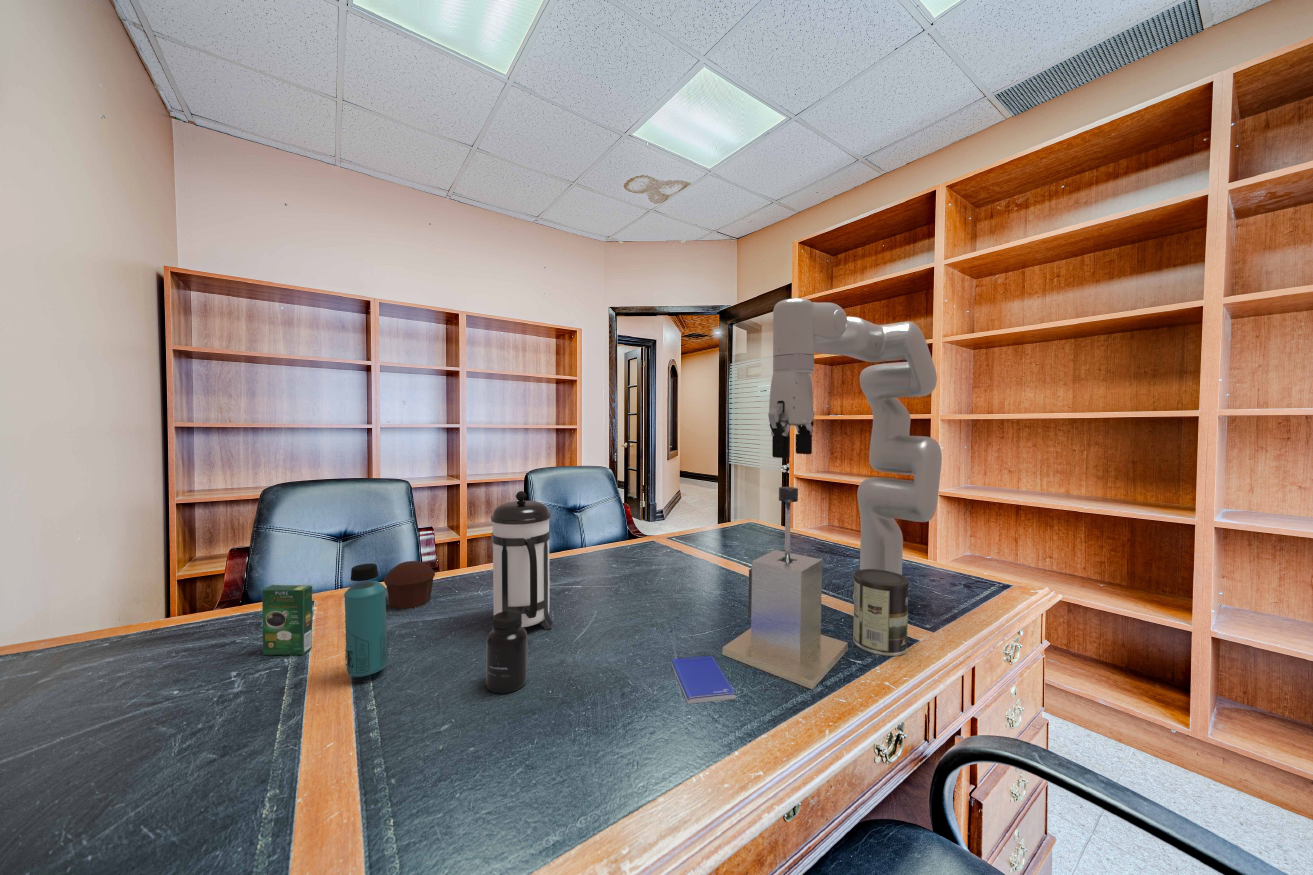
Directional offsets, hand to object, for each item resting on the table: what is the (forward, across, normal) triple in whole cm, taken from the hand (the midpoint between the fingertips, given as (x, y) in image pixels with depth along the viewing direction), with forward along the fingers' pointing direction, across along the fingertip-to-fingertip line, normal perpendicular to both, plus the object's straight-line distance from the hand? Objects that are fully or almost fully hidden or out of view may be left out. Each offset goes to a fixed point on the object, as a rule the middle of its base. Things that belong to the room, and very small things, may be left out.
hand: (792, 455), depth 90 cm
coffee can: (+40, -16, +12) cm, 44 cm away
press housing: (+39, 0, -1) cm, 39 cm away
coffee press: (+39, +28, -49) cm, 69 cm away
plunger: (+23, 0, -1) cm, 23 cm away
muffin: (+38, +40, -82) cm, 99 cm away
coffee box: (+38, +66, -74) cm, 106 cm away
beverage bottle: (+38, +59, -53) cm, 88 cm away
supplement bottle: (+38, +43, -32) cm, 66 cm away
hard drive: (+40, +20, -8) cm, 45 cm away
